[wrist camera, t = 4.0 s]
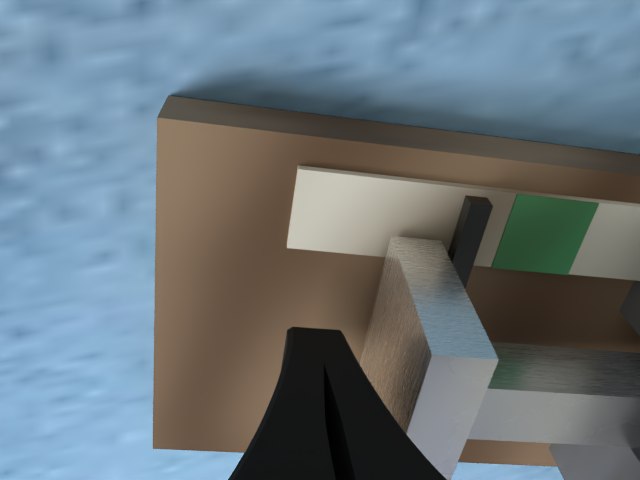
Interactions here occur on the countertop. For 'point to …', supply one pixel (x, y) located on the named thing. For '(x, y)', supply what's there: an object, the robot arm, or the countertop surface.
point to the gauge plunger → (483, 362)
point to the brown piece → (372, 256)
